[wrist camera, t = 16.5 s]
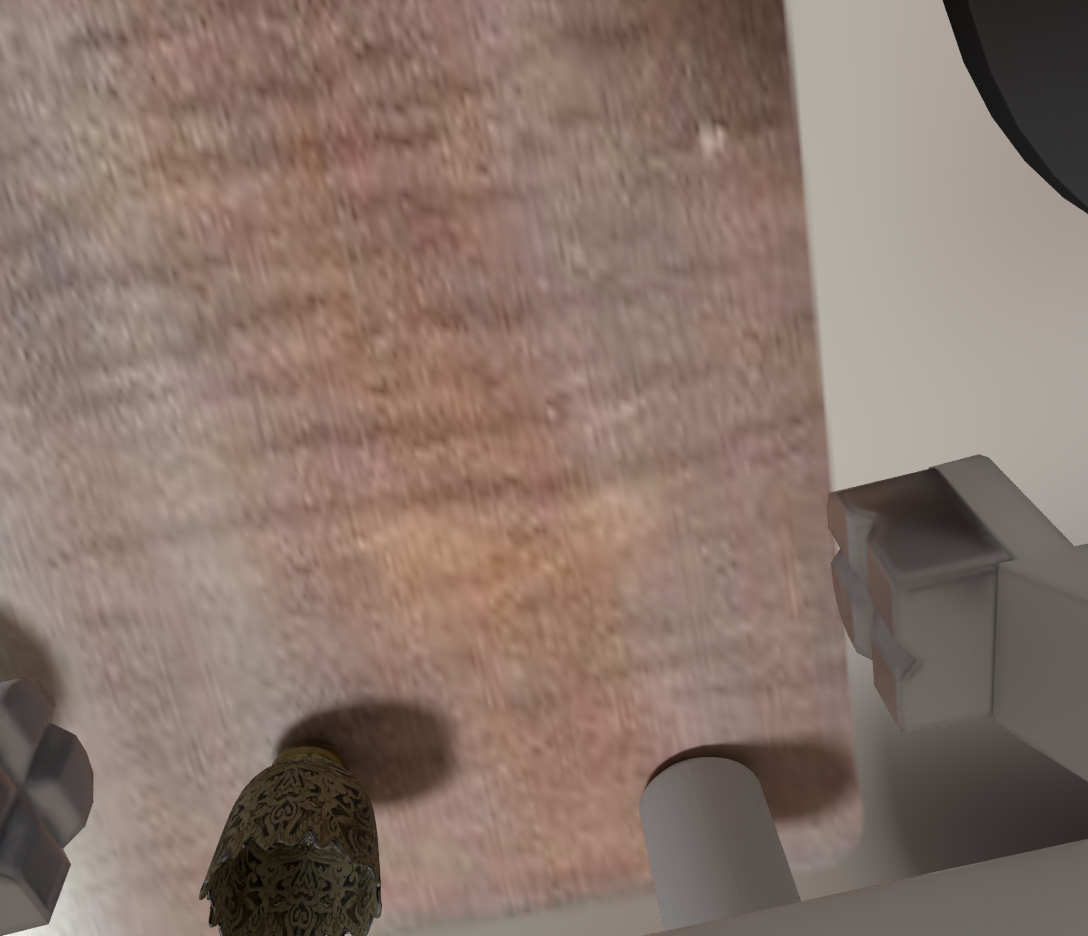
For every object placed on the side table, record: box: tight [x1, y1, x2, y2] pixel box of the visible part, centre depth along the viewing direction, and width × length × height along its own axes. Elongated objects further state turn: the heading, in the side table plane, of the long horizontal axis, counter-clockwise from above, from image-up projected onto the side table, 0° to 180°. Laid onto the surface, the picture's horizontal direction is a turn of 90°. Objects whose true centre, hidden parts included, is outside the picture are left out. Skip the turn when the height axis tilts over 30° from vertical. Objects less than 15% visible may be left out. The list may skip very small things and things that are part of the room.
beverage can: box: [640, 757, 801, 931], centre depth 47 cm, size 6×6×12 cm
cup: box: [199, 740, 382, 936], centre depth 45 cm, size 8×7×8 cm
